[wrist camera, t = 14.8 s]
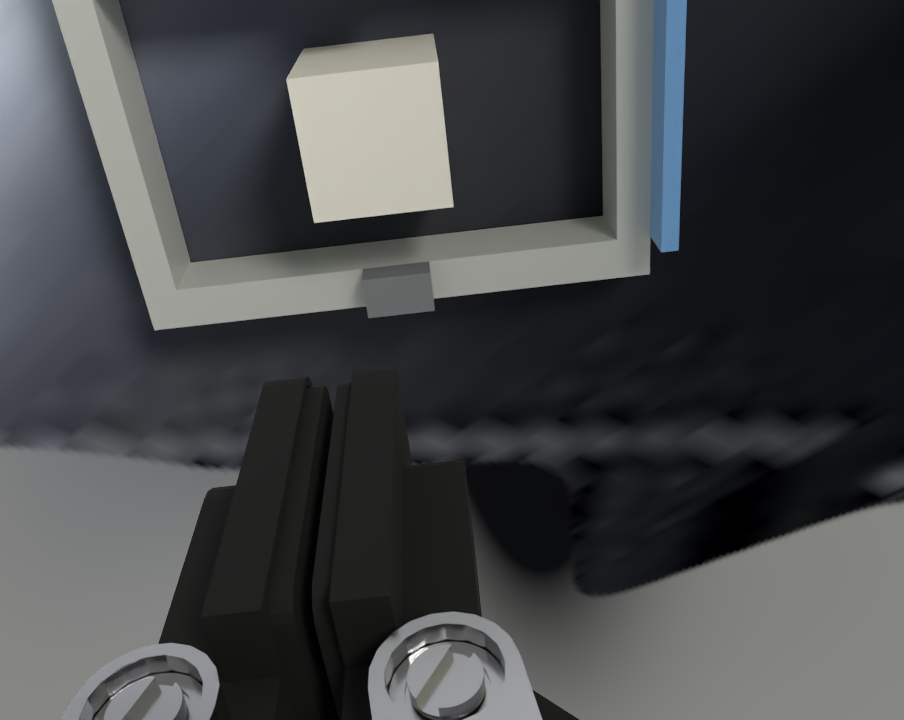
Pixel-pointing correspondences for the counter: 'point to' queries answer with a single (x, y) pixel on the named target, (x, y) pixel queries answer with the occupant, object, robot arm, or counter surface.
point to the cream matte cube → (371, 128)
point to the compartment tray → (409, 259)
